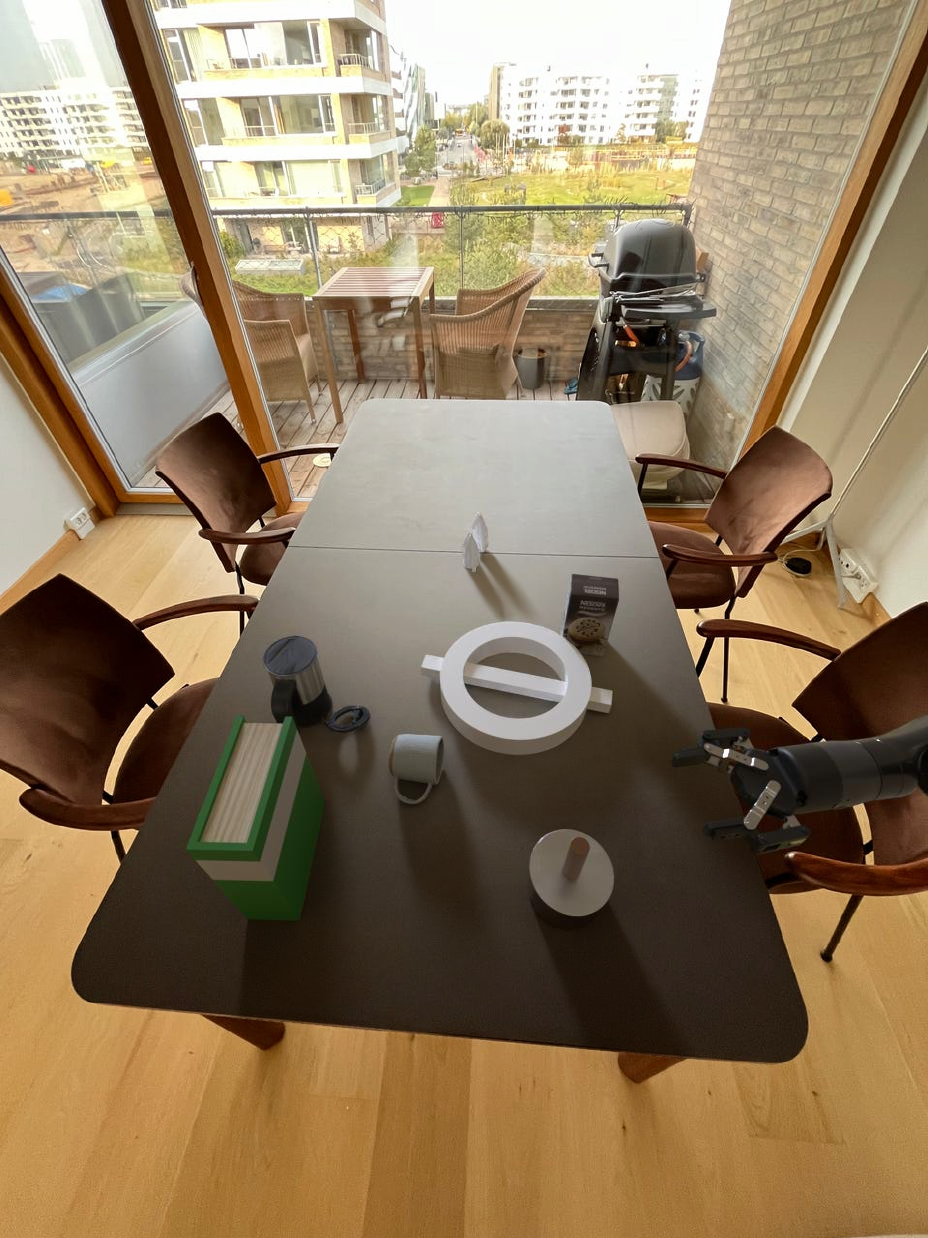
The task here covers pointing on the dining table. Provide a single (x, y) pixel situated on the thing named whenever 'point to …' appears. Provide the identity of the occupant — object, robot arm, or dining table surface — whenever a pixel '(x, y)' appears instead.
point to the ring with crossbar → (516, 687)
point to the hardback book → (261, 821)
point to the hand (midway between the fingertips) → (688, 794)
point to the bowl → (556, 914)
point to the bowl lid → (571, 873)
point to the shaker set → (475, 543)
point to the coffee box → (590, 612)
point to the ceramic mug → (416, 761)
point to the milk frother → (303, 687)
